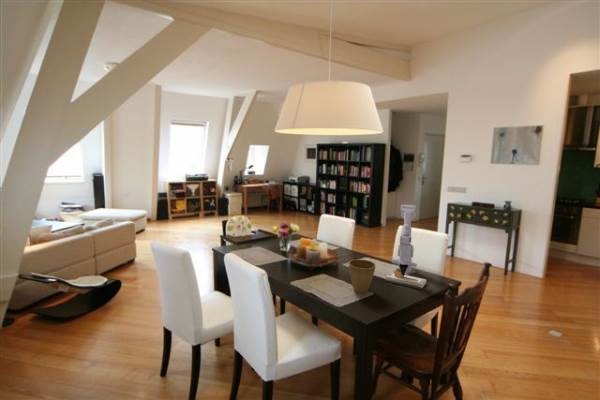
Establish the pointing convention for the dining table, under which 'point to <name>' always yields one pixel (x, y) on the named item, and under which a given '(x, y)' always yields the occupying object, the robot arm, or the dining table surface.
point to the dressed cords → (404, 283)
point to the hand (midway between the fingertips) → (403, 275)
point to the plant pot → (361, 274)
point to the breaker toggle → (398, 272)
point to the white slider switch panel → (407, 280)
